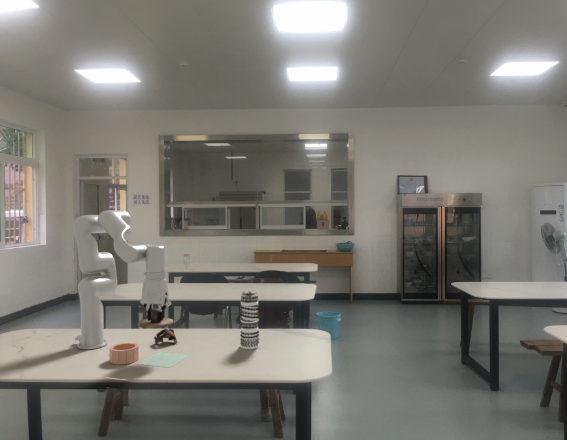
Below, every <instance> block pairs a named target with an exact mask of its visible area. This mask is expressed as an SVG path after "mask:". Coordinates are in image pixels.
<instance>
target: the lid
mask: <svg viewBox="0 0 567 440" xmlns="http://www.w3.org/2000/svg"><path fill="white" fill-rule="evenodd" d="M158 312H159V308H152V309H151V320H150V321H148V318H146V319H145V318H144V319H141V320H139V321H138V322H137V326H138V327H139V328H142V329H161V328H165V327H166V328H167V327H169V326H172V325H173V324H174V319H173V318H169V317H164V318H163V320H162V321H160V322H159V321H158Z"/></svg>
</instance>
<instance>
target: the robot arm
mask: <svg viewBox="0 0 567 440" xmlns="http://www.w3.org/2000/svg"><path fill="white" fill-rule="evenodd" d="M131 224H132V216H131V215H130V213H129V212H128V211H126V210H122V209H121V210H120V209H117V210H116V209H114V210H113V209H112V210H111V209H107V210H103V211H101V212H100V213H99V214H84V215H81V216H78V217H77V218H76V219H75V220H74V222H73V228H72V229H73V230H72V232H73V235H74V239H75V243H76V245H77V254H78V256H77V257H78V265H79V269H80V272H81V273H82V274H84V275H85V274H86V275H91V274H92V275H93V274H99V273H100V275H93V276H87V277H84V278H82V279H81V280H80V281H79V282H78V284H77V291H78V296H79V302H80V303H79V304H80V334H77V335H76V336H75V338H74V340H75V341H78V343H77V346H76V347H77V349H80V350H93V349H94V350H95V349H101V348H102V347H105V346H107V345H108V340H106V339H104V336H105V335H104V325H105V324H104V305H103V303H102V301H101V300H100V297H102V296H109V295H112V294H114V293H115V292H116V291H117V289H118V277H117V276H118V275H117V268H116V259H115V258H114V256H113V254H111V252H109V251H108V252H107V251H101V252H99V246H98V241H97V240H96V238H95V237H94V236H93V235H92V234H108V235H109V236H110V237H111V238H112V239H113V248H114V252H115V254H116V255H117V256H118V257H120V259H121V260H122V261H123V262H125V263H126V264H139V263H145V272H144V273H143V276H144V277H145V278H144V280H143V283H142V289H141V300H140V301H139V303H140V304H141V305H142V306H143V307H144V308H145V311H146V312H147V314H146V315H147V319H148V321H150V320H151V309H153V307H154V306H155V305H157V307H158V309H159V312H158V321H159V322H160V321H162V320H163V318H165V311H166V309H167V308H168V307H169V306H171V305H172V302H171V300H170V298H169V286H168V280H167V278H166V248H165V246H163V245H158V244H157V245H154V244H151V243H145V244H142V243H141V244H130V243H128V242H127V241H128V240H129V239H130V238H131V236H132V234H133V229H132V227H131Z"/></svg>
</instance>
